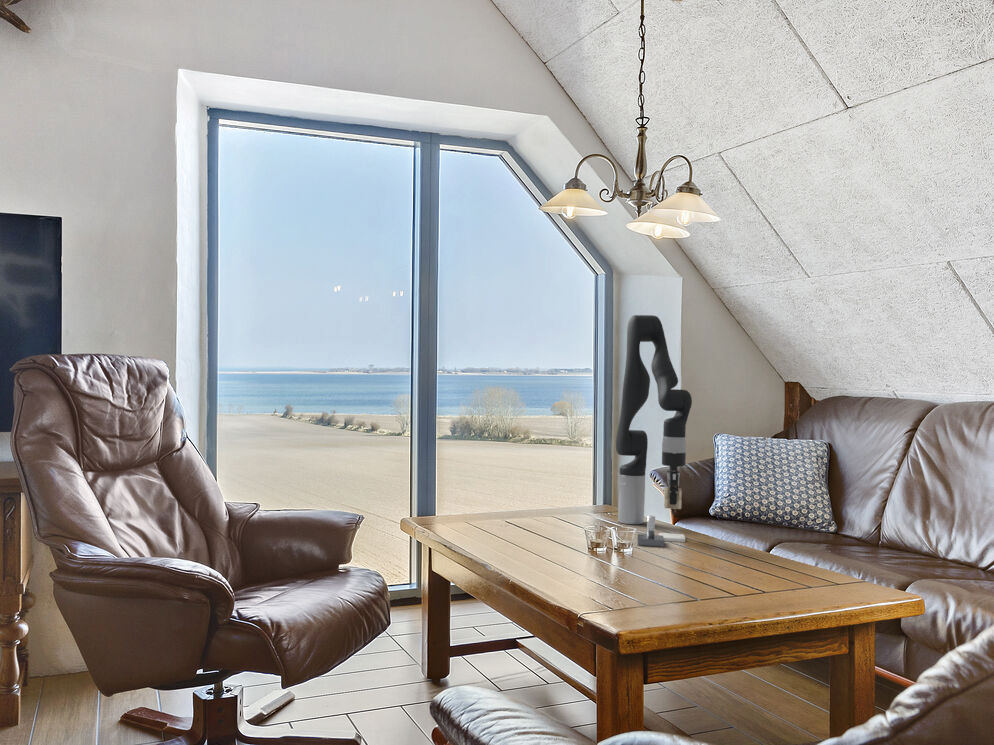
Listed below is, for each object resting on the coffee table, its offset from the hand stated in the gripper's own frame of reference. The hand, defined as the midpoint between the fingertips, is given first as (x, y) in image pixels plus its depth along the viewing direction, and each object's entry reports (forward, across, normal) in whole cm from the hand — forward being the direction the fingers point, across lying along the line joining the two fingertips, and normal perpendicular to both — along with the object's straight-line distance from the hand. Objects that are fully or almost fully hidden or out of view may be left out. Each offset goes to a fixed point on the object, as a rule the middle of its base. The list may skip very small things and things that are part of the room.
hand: (672, 503), depth 267 cm
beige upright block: (+1, 0, 0) cm, 1 cm away
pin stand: (+12, +10, -7) cm, 17 cm away
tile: (+12, 0, 0) cm, 12 cm away
